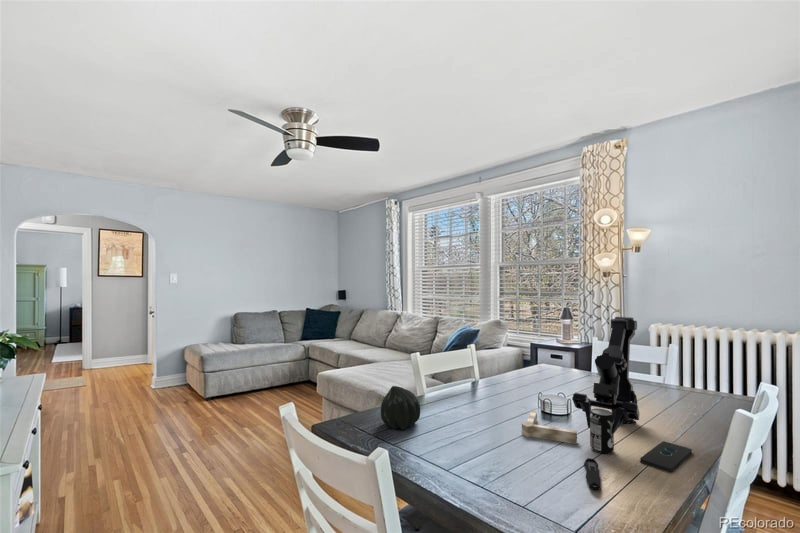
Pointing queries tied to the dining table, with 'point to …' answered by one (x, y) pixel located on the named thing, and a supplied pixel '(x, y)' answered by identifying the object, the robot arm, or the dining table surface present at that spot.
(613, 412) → the robot arm
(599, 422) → the beverage can
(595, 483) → the electric trimmer
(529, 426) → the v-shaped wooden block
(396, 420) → the squash
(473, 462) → the dining table surface
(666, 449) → the smart home device
